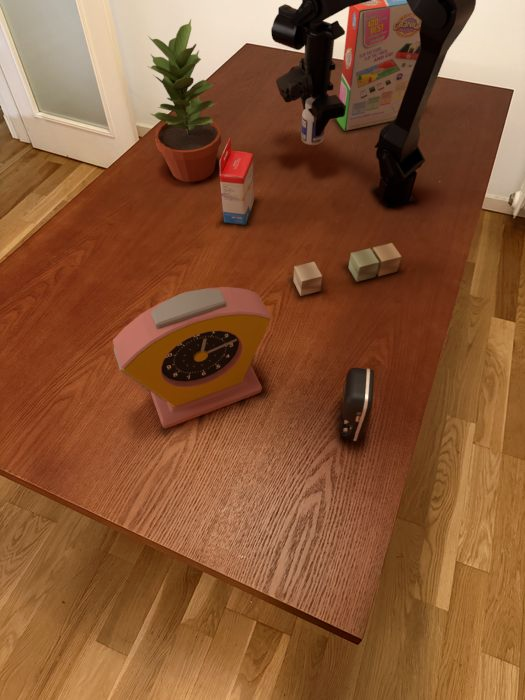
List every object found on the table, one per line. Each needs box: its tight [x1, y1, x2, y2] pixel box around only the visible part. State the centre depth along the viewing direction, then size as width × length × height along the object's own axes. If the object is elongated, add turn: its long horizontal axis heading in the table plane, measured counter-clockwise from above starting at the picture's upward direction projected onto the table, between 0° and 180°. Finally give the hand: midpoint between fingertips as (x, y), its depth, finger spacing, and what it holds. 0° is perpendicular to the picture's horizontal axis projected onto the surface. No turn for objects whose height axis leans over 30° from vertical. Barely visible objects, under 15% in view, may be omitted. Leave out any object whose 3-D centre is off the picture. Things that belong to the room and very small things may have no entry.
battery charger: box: [340, 367, 375, 442], centre depth 74 cm, size 7×4×11 cm, turn 170°
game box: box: [336, 0, 421, 132], centre depth 118 cm, size 21×6×27 cm, turn 108°
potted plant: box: [147, 19, 222, 183], centre depth 105 cm, size 15×15×30 cm
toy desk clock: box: [112, 286, 272, 429], centre depth 73 cm, size 22×9×22 cm, turn 114°
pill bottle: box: [300, 97, 326, 146], centre depth 112 cm, size 5×5×9 cm
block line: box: [292, 242, 402, 297], centre depth 95 cm, size 20×4×4 cm, turn 108°
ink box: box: [219, 137, 255, 226], centre depth 102 cm, size 8×5×15 cm, turn 168°
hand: (312, 128), depth 114 cm, fingers closed on pill bottle, 5 cm apart
